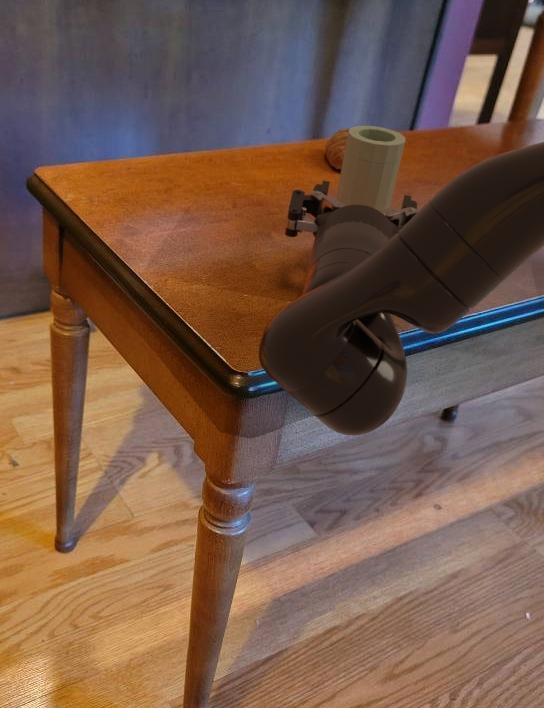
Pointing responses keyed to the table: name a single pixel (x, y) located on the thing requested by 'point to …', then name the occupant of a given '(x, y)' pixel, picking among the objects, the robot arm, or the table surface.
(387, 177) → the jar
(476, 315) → the table surface
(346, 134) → the pastry
